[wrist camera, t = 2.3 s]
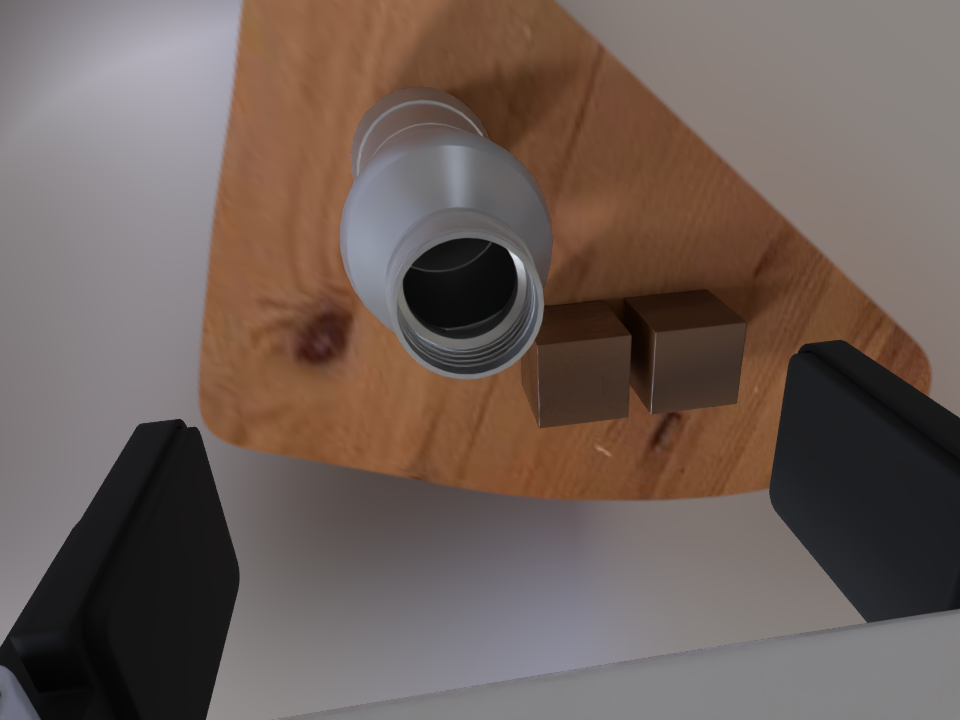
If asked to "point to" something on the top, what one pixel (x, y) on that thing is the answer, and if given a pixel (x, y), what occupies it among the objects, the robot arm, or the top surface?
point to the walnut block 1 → (578, 366)
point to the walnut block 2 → (684, 350)
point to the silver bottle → (445, 235)
